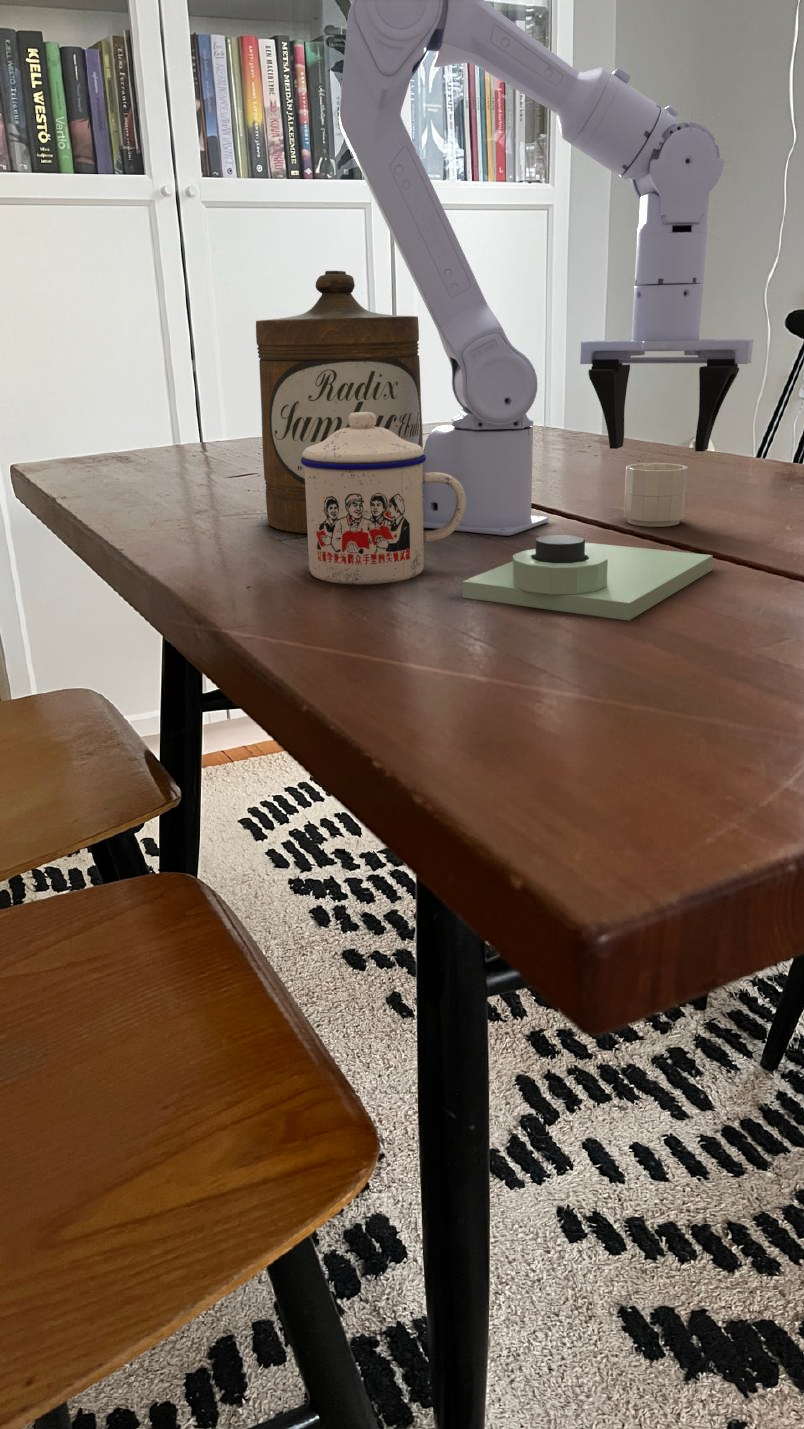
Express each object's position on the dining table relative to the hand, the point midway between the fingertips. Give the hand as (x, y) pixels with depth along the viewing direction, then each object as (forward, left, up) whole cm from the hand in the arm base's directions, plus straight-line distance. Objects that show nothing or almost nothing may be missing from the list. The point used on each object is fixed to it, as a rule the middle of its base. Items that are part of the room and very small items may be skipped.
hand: (658, 449), depth 95 cm
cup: (0, 0, -7) cm, 7 cm away
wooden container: (-26, -13, -7) cm, 29 cm away
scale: (+5, -25, -7) cm, 26 cm away
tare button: (+5, -31, -4) cm, 31 cm away
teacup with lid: (-10, -29, -7) cm, 31 cm away
